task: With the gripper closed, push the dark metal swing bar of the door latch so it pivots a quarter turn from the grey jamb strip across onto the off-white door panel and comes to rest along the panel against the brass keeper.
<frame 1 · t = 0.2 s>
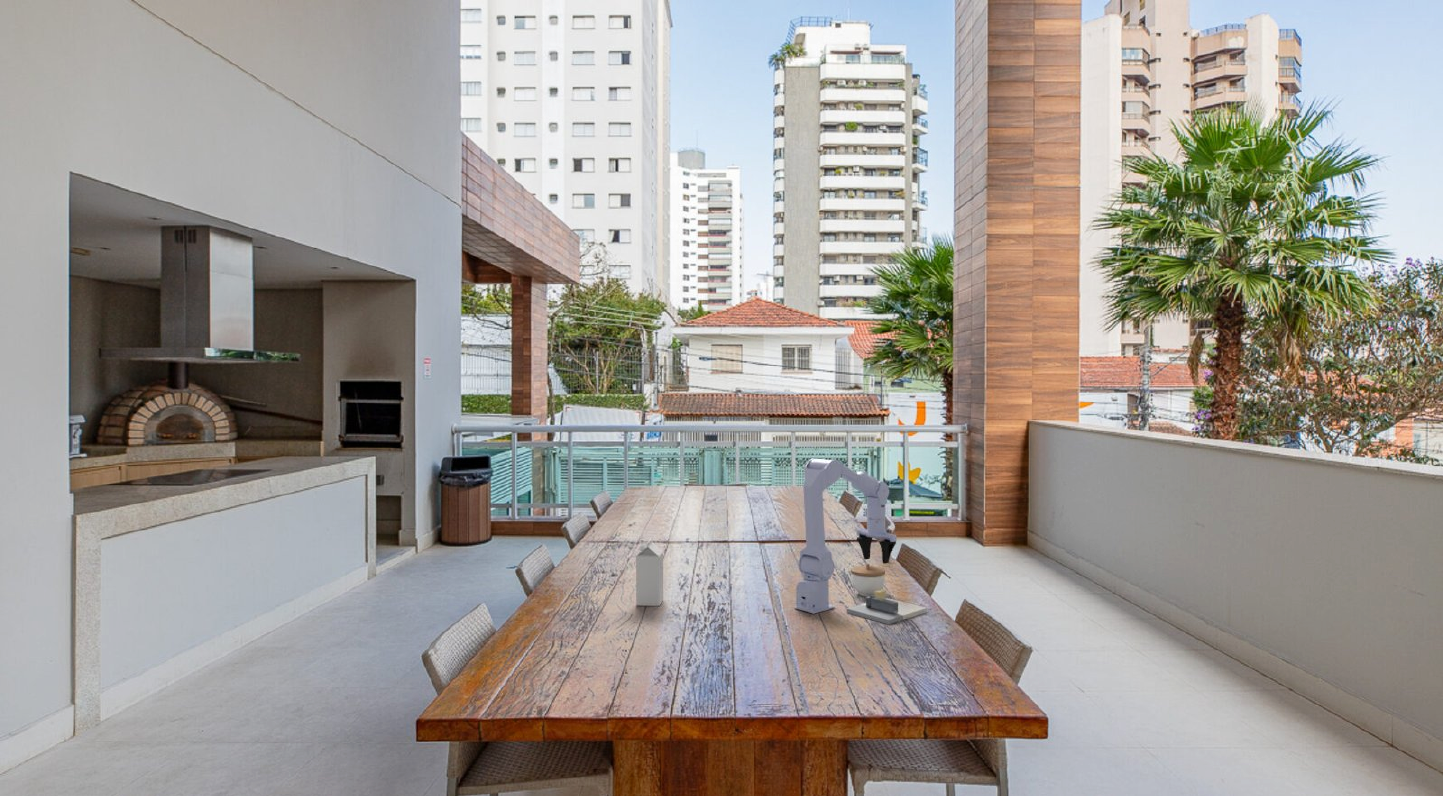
hand: (876, 561, 243), 10 cm above the table, tool pointing down, fingers open, 7 cm apart
lidded jar: (867, 594, 242), on the table
milk carton: (649, 603, 232), on the table
door board: (886, 612, 221), on the table
swing bar: (881, 604, 219), point 3 cm above the table, hinge at 0.0°
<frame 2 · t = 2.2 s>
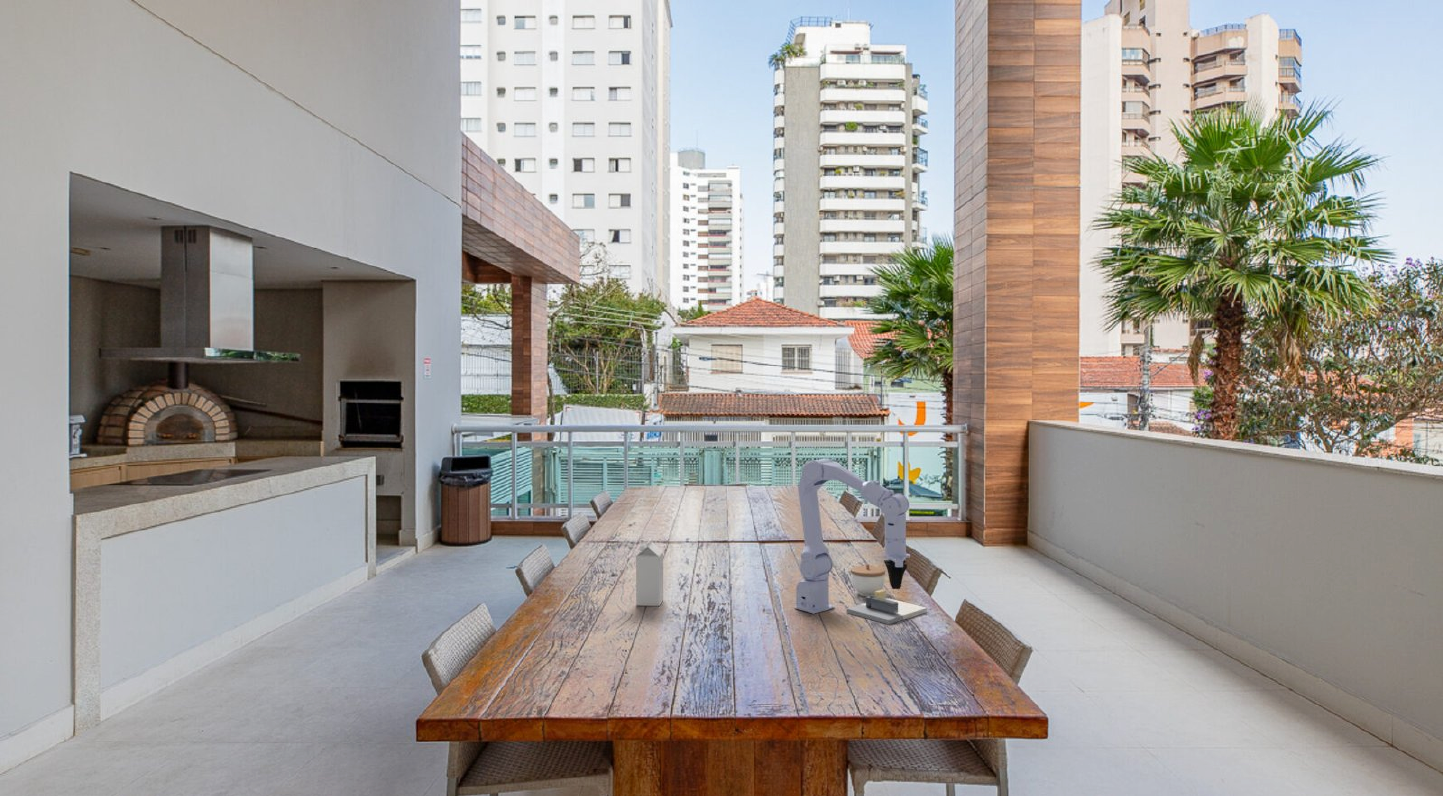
hand: (895, 587, 210), 10 cm above the table, tool pointing down, fingers closed
nothing on the table moved.
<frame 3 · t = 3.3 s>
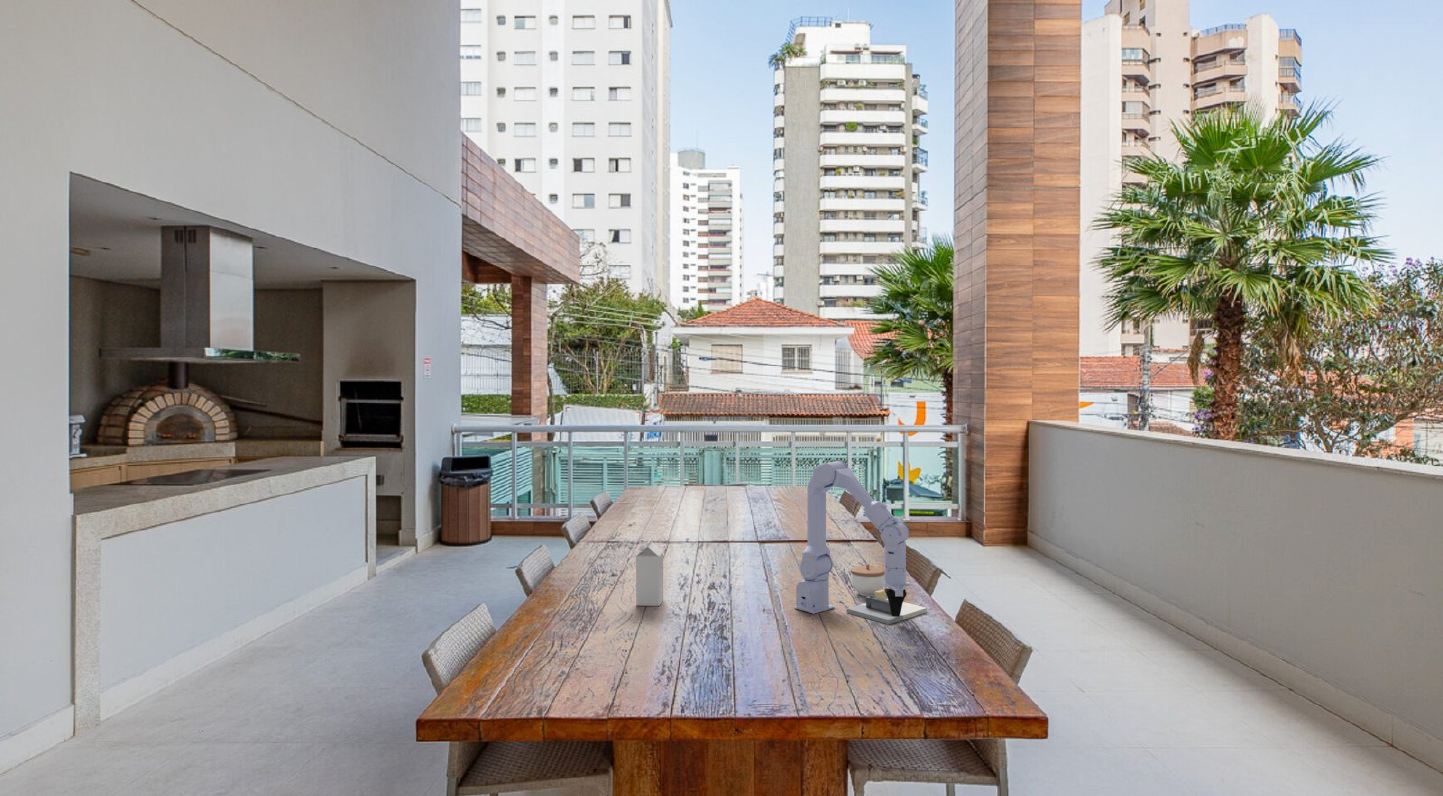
hand: (895, 615, 211), 2 cm above the table, tool pointing down, fingers closed
nothing on the table moved.
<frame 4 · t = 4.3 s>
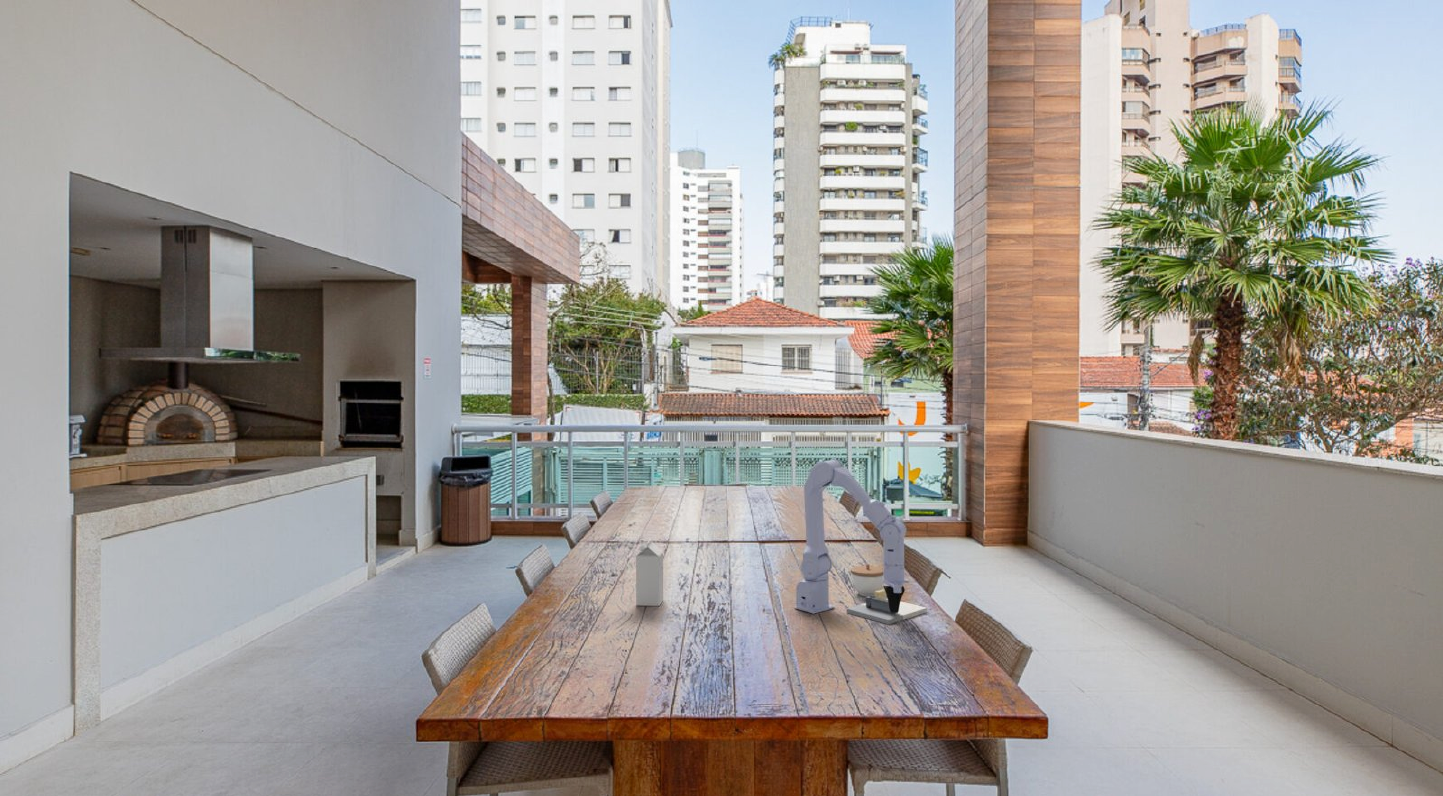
hand: (894, 612, 214), 2 cm above the table, tool pointing down, fingers closed, pressing on swing bar
swing bar: (881, 604, 219), point 3 cm above the table, hinge at 0.7°, touching gripper
everything else where it was.
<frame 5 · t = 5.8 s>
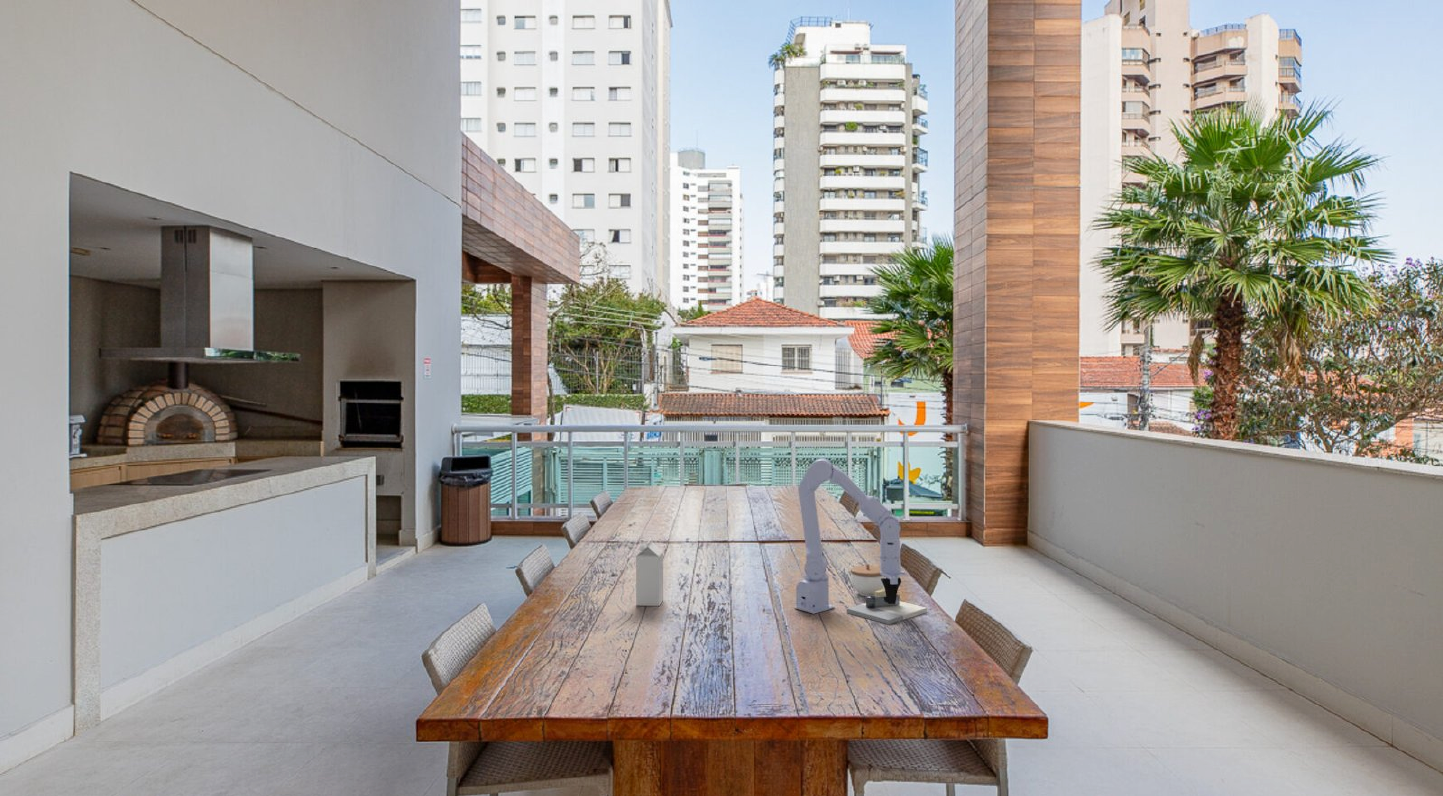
hand: (891, 603, 222), 2 cm above the table, tool pointing down, fingers closed, pressing on swing bar
swing bar: (882, 600, 223), point 3 cm above the table, hinge at 67.3°, touching gripper
everything else where it was.
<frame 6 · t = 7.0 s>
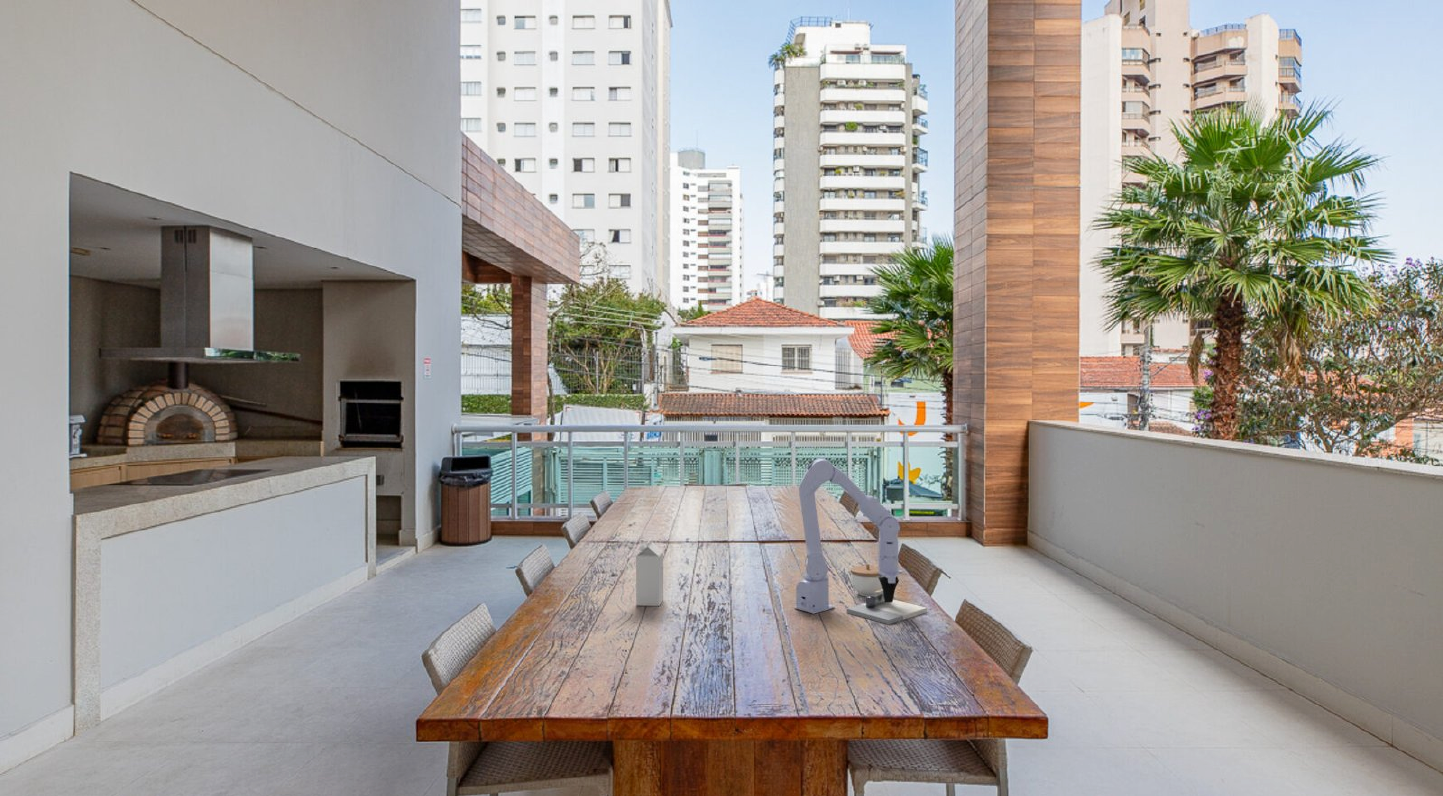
hand: (888, 601, 224), 2 cm above the table, tool pointing down, fingers closed
swing bar: (877, 598, 225), point 3 cm above the table, hinge at 97.5°, touching gripper
everything else where it was.
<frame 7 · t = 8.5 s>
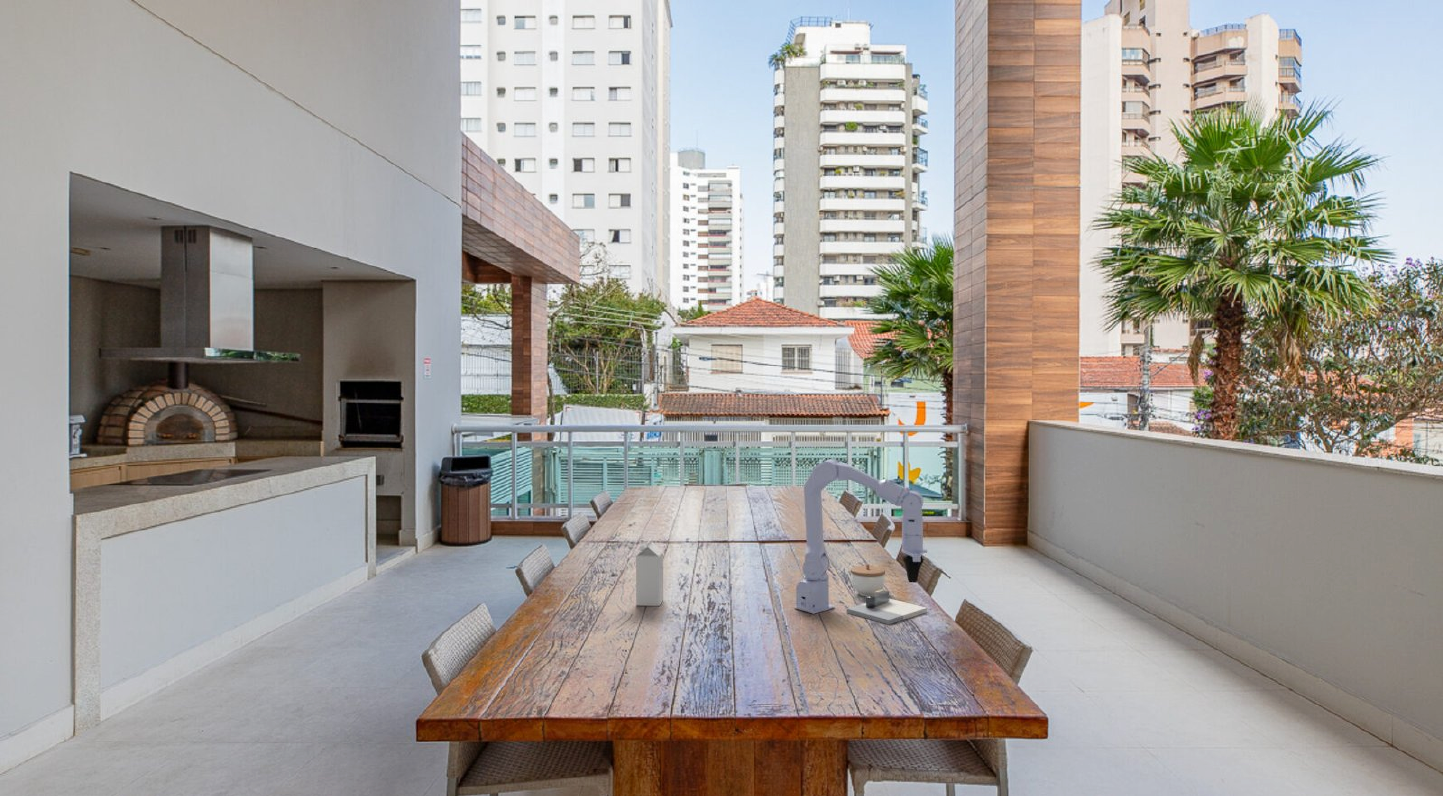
hand: (912, 581, 217), 10 cm above the table, tool pointing down, fingers closed
swing bar: (877, 598, 225), point 3 cm above the table, hinge at 97.7°
everything else where it was.
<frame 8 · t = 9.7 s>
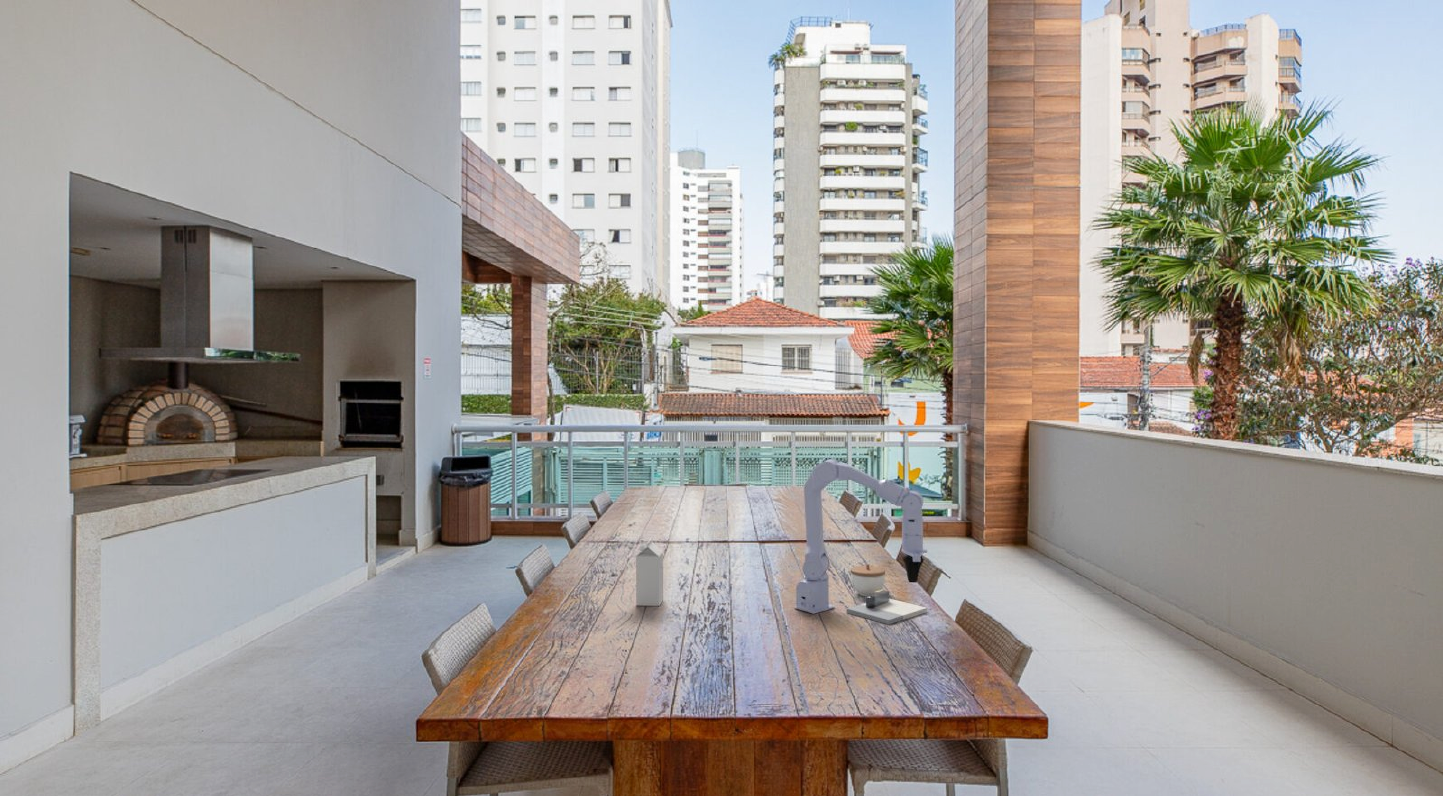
hand: (912, 581, 217), 10 cm above the table, tool pointing down, fingers closed
nothing on the table moved.
at the end: swing bar at +98° (first picture: +0°); the gripper is holding nothing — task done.
